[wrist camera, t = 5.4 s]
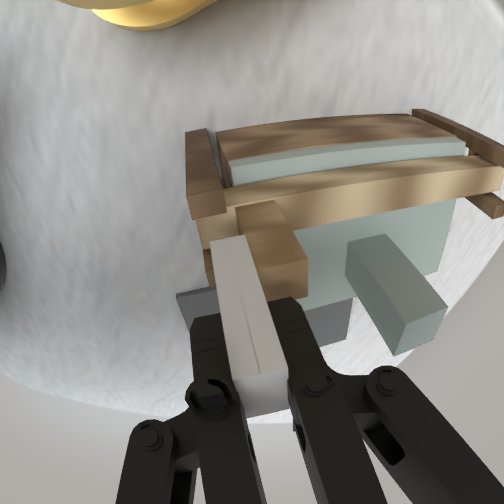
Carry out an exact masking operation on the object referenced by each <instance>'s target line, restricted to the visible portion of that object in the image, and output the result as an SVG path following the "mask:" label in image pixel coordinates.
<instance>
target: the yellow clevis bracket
mask: <svg viewBox="0 0 504 504" xmlns="http://www.w3.org/2000/svg"><path fill="white" fill-rule="evenodd" d="M57 1H60V2H62V3H65V4H68V5H71V6H74V7H79V8H85V9H91V10H92V11H93V12H94V13H96V14H97V15H98V16H99V17H101V18H103V19H105V20H107V21H109V22H111V23H113V24H115V25H118V26H120V27H123V28H126V29H130V30H135V31H153V30H159V29H164V28H167V27H170V26H173V25H176V24H178V23H180V22H182V21H184V20H186V19H187V18H189V17H191V16H192V15H194V14H196V13H197V12H199V11H200V10H202V9H204V8H205V7H207V6H209V5H211V4H212V3H214V2H216V1H218V0H57Z"/></svg>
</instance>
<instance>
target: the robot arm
mask: <svg viewBox="0 0 504 504" xmlns="http://www.w3.org/2000/svg"><path fill="white" fill-rule="evenodd" d="M210 248H211V255H212V261H213V268H214V275H215V281H216V287H217V294H218V300H219V306H220V312H221V313H216V314H211V315H206V316H201V317H196V318H194V320H193V323H192V325H191V328H190V341H191V352H192V365H193V376H194V382H192V383H191V384H190V386H189V387H188V389H187V390H186V395H185V401H186V402H187V404H188V405H189V408H188V409H187V410H186V411H185V412H183V413H181V414H180V415H178V416H176V417H173V418H171V419H169V420H167V421H165V422H162V421H158V420H155V419H153V420H145V421H143V422H141V423H139V424H138V425H137V426H136V427H135V428H134V429H133V431H132V433H131V435H130V438H129V443H128V447H127V451H126V456H125V460H124V465H123V470H122V474H121V479H120V484H119V489H118V494H117V499H116V504H193V500H194V492H195V484H196V476H197V468H199V467H200V469H201V475H202V482H203V488H204V494H205V500H206V504H267V502H266V498H265V494H264V490H263V486H262V482H261V478H260V473H259V470H258V466H257V461H256V456H255V452H254V448H253V443H252V439H251V435H250V432H249V429H248V424H247V420H246V418H250V417H255V416H259V415H264V414H269V413H273V412H277V411H281V410H285V409H289V406H290V409H291V413H292V416H293V431H296V435H297V438H298V441H299V445H300V448H301V451H302V455H303V458H304V461H305V464H306V468H307V471H308V474H309V478H310V481H311V484H312V487H313V491H314V494H315V497H316V500H317V503H318V504H387V501H386V498H385V495H384V493H383V490H382V488H381V485H380V483H379V480H378V477H377V475H376V472H375V469H374V467H373V464H372V462H371V459H370V457H369V454H368V452H367V449H366V447H365V444H364V442H363V440H364V441H365V442H366V444H367V445H368V446H369V448H370V449H371V450H372V452H373V453H374V454H375V455H376V457H377V458H378V459H379V461H380V462H381V463H382V464H383V466H384V467H385V469H386V470H387V471H388V472H389V474H390V475H391V476H392V478H393V479H394V480H395V482H396V483H397V484H398V485H399V487H400V488H401V489H402V491H403V492H404V493H405V494H406V496H407V497H408V498H409V500H410V501H411V502H412V503H413V504H504V487H503V486H502V484H501V483H500V482H499V481H498V480H497V478H496V477H495V476H494V475H493V474H492V472H491V471H490V470H489V469H488V468H487V466H486V465H485V464H484V463H483V462H482V461H481V459H480V458H479V457H478V456H477V455H476V453H475V452H474V451H473V450H472V449H471V448H470V447H469V445H468V444H467V443H466V442H465V441H464V439H463V438H462V437H461V436H460V435H459V434H458V432H457V431H456V430H455V429H454V428H453V427H452V426H451V424H450V423H449V422H448V421H447V420H446V419H445V418H444V417H443V415H442V414H441V413H440V412H439V411H438V410H437V409H436V407H435V406H434V405H433V404H432V403H431V402H430V401H429V400H428V398H427V397H426V396H425V395H424V394H423V393H422V392H421V391H420V390H419V388H418V387H417V386H416V385H415V384H414V383H413V382H412V381H411V380H410V378H408V376H407V375H406V374H405V373H404V372H403V371H401V370H400V369H399V368H397V367H393V366H380V367H378V368H376V369H374V370H373V371H372V372H371V373H370V374H369V375H343V374H340V373H337V372H335V371H334V370H332V369H331V368H330V367H329V366H328V365H327V364H326V362H325V360H324V358H323V356H322V353H321V351H320V348H319V346H318V344H317V341H316V339H315V337H314V334H313V332H312V329H311V328H310V325H309V322H308V320H307V319H306V315H305V313H304V311H303V308H302V306H301V305H300V304H299V303H298V302H297V301H296V300H295V299H294V298H292V297H286V298H282V299H278V300H273V301H269V302H266V299H265V295H264V292H263V289H262V286H261V283H260V280H259V277H258V274H257V271H256V268H255V265H254V262H253V259H252V255H251V252H250V249H249V246H248V243H247V240H246V237H245V235H240V236H235V237H230V238H225V239H220V240H215V241H211V242H210ZM4 279H5V259H4V254H3V250H2V247H1V244H0V289H1V287H2V285H3V283H4ZM362 438H363V439H362Z"/></svg>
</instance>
